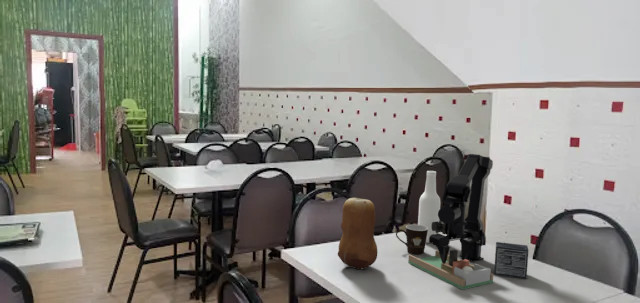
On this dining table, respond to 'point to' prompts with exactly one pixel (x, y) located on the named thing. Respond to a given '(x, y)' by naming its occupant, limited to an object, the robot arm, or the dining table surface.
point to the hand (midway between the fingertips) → (453, 261)
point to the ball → (467, 269)
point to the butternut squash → (358, 234)
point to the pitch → (460, 276)
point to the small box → (511, 260)
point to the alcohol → (429, 205)
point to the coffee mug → (415, 238)
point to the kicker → (454, 262)
